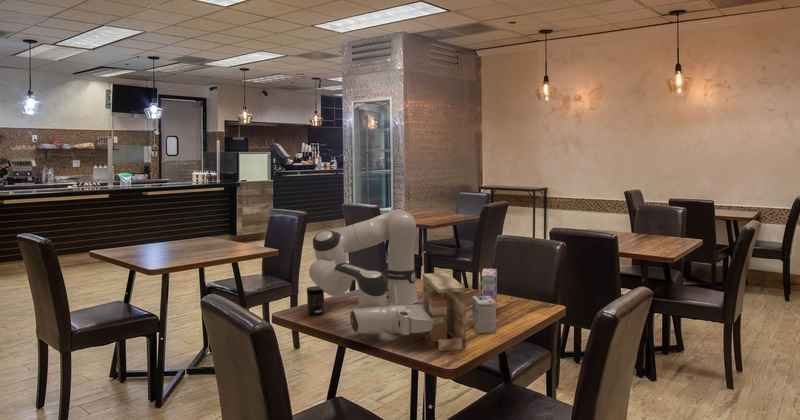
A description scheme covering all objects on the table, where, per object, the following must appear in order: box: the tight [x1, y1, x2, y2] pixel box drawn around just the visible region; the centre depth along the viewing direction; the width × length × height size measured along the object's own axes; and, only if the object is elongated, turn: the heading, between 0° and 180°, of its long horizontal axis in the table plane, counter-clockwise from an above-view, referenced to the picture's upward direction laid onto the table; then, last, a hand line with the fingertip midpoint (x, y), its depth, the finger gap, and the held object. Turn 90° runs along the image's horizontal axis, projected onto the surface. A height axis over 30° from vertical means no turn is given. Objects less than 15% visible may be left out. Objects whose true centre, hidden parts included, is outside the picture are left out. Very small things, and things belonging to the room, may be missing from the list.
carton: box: [428, 297, 448, 343], centre depth 193 cm, size 5×5×14 cm
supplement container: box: [306, 285, 325, 316], centre depth 225 cm, size 7×7×10 cm
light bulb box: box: [471, 295, 497, 334], centre depth 204 cm, size 11×7×11 cm, turn 5°
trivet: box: [386, 332, 402, 335], centre depth 204 cm, size 10×10×1 cm
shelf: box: [422, 272, 467, 352], centre depth 193 cm, size 9×23×20 cm, turn 10°
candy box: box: [480, 268, 498, 310], centre depth 224 cm, size 14×6×16 cm, turn 168°
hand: (439, 315), depth 193 cm, fingers open, 8 cm apart
